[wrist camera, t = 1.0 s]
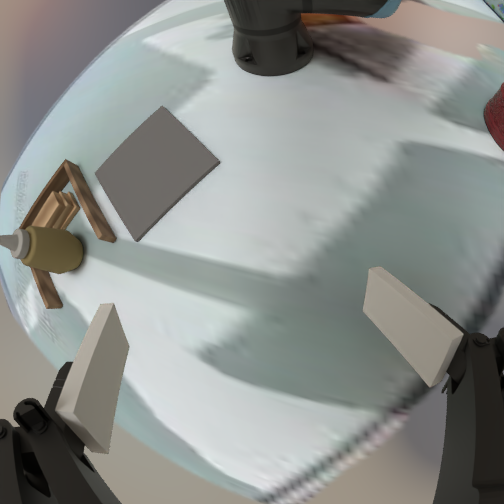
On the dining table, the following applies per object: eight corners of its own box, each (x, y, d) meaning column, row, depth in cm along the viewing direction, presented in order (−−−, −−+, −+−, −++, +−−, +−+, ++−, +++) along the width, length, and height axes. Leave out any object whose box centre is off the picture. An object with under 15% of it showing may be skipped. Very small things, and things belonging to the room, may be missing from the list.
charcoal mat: (220, 162, 41) (218, 160, 40) (137, 241, 42) (135, 241, 41) (164, 107, 45) (162, 105, 44) (97, 174, 46) (94, 173, 45)
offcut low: (83, 209, 46) (76, 206, 44) (53, 252, 47) (47, 251, 45) (75, 194, 47) (68, 191, 46) (46, 236, 48) (40, 234, 46)
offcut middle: (74, 206, 45) (67, 204, 43) (48, 249, 45) (41, 248, 43) (66, 193, 46) (60, 191, 44) (41, 235, 46) (35, 233, 44)
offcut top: (65, 207, 43) (58, 204, 41) (41, 245, 43) (34, 243, 41) (59, 193, 44) (52, 190, 42) (36, 230, 44) (29, 229, 42)
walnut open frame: (116, 238, 43) (102, 234, 39) (60, 308, 44) (46, 308, 40) (77, 165, 47) (65, 159, 43) (31, 231, 49) (18, 228, 45)
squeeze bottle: (84, 226, 45) (9, 202, 27) (91, 266, 43) (10, 255, 26) (59, 242, 46) (-11, 226, 28) (65, 280, 44) (-10, 274, 27)
